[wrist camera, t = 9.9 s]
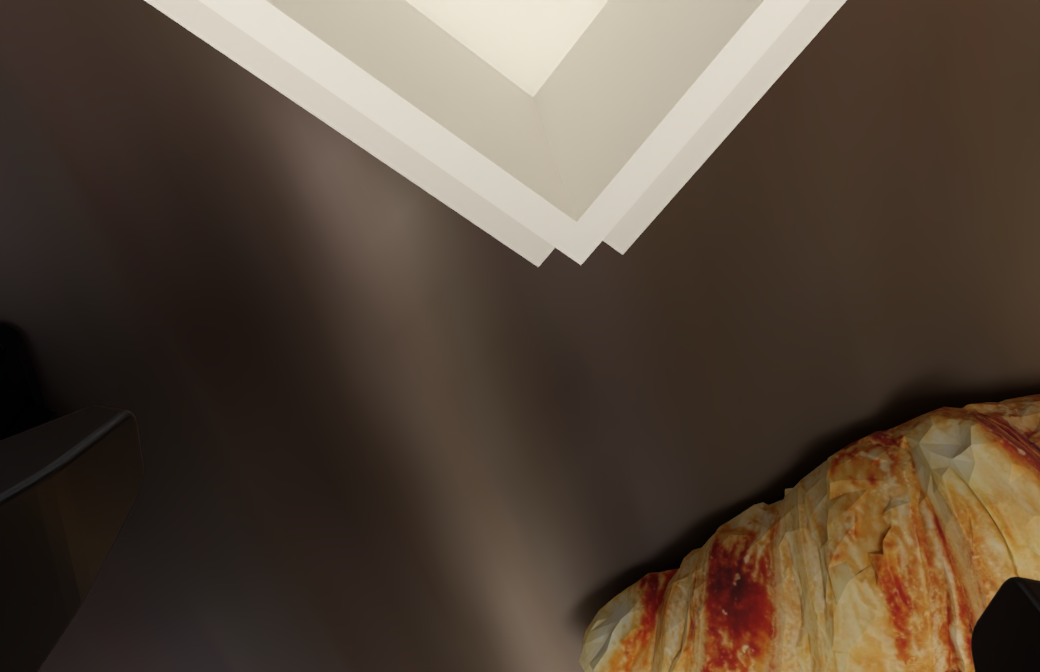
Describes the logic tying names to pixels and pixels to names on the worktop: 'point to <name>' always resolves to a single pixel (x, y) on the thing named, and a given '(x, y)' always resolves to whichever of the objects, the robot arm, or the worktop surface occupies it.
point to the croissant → (850, 559)
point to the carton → (523, 95)
